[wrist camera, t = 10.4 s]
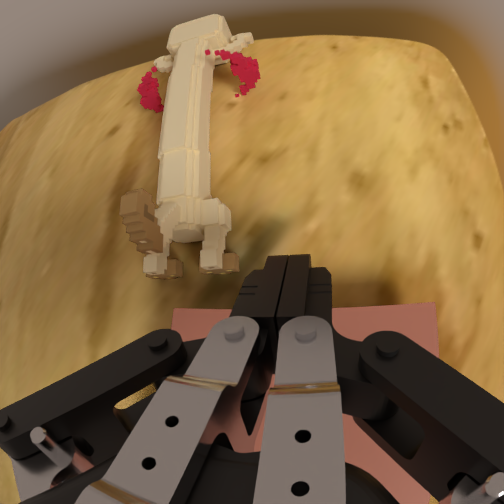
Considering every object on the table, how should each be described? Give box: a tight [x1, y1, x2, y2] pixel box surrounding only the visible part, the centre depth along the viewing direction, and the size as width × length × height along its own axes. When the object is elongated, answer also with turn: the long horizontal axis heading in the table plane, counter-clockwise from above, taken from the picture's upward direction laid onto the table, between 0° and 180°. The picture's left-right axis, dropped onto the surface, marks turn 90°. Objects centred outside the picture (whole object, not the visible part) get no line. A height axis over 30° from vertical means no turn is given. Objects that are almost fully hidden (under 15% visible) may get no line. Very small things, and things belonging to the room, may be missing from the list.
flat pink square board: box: [171, 302, 439, 504], centre depth 12 cm, size 2×14×15 cm
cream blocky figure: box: [119, 14, 260, 279], centre depth 19 cm, size 10×9×25 cm
